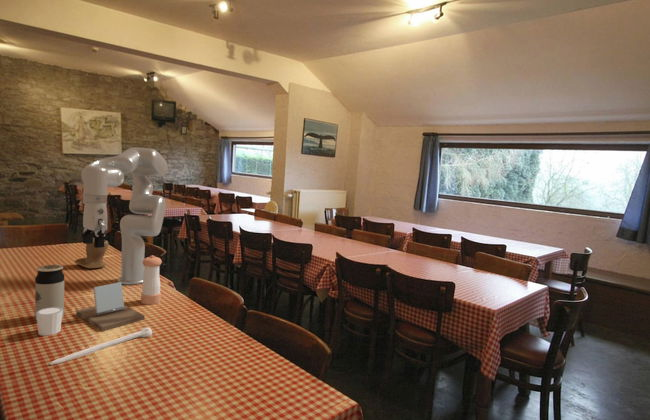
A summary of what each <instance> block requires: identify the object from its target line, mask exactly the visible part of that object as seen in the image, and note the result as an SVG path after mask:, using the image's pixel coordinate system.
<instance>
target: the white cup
mask: <svg viewBox="0 0 650 420" xmlns="http://www.w3.org/2000/svg"><path fill="white" fill-rule="evenodd" d="M62 313H63V309H62V308H59V307H51V308H45V309H41V310H39V311H37V312H36V316H37V320H36V325H37V333H38V335H39V336H42V337H44V336H46V337H47V336H53V335H56V334H59V333H60V332H61V328H62V321H63V317H62Z"/></svg>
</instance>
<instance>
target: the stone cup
mask: <svg viewBox="0 0 650 420" xmlns="http://www.w3.org/2000/svg"><path fill="white" fill-rule="evenodd" d="M108 247H109V241H108V240H106V239H105V240H104V247H99V248H95V247H94V237H93V243H89V244H85V252H86V257H81V258H78V259H75V260H74V263H75V264H77V265H79V266H81V267H84V268H87V269H100V268H103V267H105V266H106V264H105V263H104V262H103V259H104V256H105V254H106V252H107V250H108Z"/></svg>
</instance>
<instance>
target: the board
mask: <svg viewBox="0 0 650 420" xmlns="http://www.w3.org/2000/svg"><path fill="white" fill-rule="evenodd" d="M75 313H76V316H77V317H79V318H81V319H82V320H84V321H86V322H88V324H91V325H92V326H94V327H95V328H97V329H98V330H99V331H101V332H105V331H109V330H112V329H116V328H120V327H123V326H126V325H129V324H132V323H137V322H140V321H144V320H145V314H142V313H141V312H140V311H137V310H135V309H133V308H131V307H129V306H127V305H125V304H124V310H120V311H116V312H112V313H108V314H104V315H100V316H96V308H95V305H94V306H90V307H87V308H82V309H78V310H76V312H75Z"/></svg>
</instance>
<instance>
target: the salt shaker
mask: <svg viewBox="0 0 650 420" xmlns="http://www.w3.org/2000/svg"><path fill="white" fill-rule="evenodd" d="M142 263H143V265H144V280H143V283H142V290H141V291H142V292H141V293H140V303H141V304H142V305H155V304H159V303H160V302H161V300H162V296H161V295H162V292H161V279H160V266H161V264H162V263H163V261H162V259H161V258H160V257H157V256H155V255H150V256H148V257H144V260H143V262H142Z"/></svg>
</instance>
